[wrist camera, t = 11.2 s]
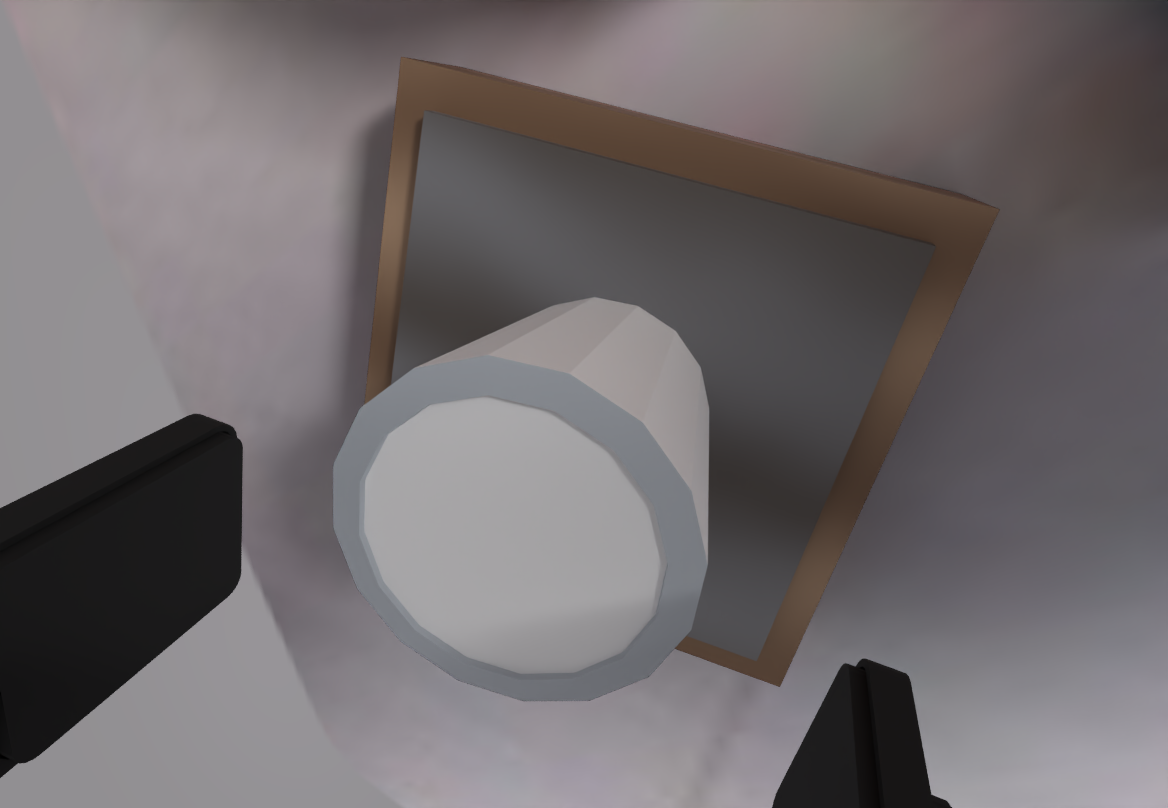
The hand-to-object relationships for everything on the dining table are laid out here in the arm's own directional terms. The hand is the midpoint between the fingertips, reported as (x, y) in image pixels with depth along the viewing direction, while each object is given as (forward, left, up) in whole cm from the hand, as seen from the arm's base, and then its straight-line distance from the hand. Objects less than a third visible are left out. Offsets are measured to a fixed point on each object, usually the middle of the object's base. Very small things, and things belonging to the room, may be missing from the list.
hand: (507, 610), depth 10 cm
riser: (0, 0, -13) cm, 13 cm away
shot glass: (0, -1, -9) cm, 9 cm away
